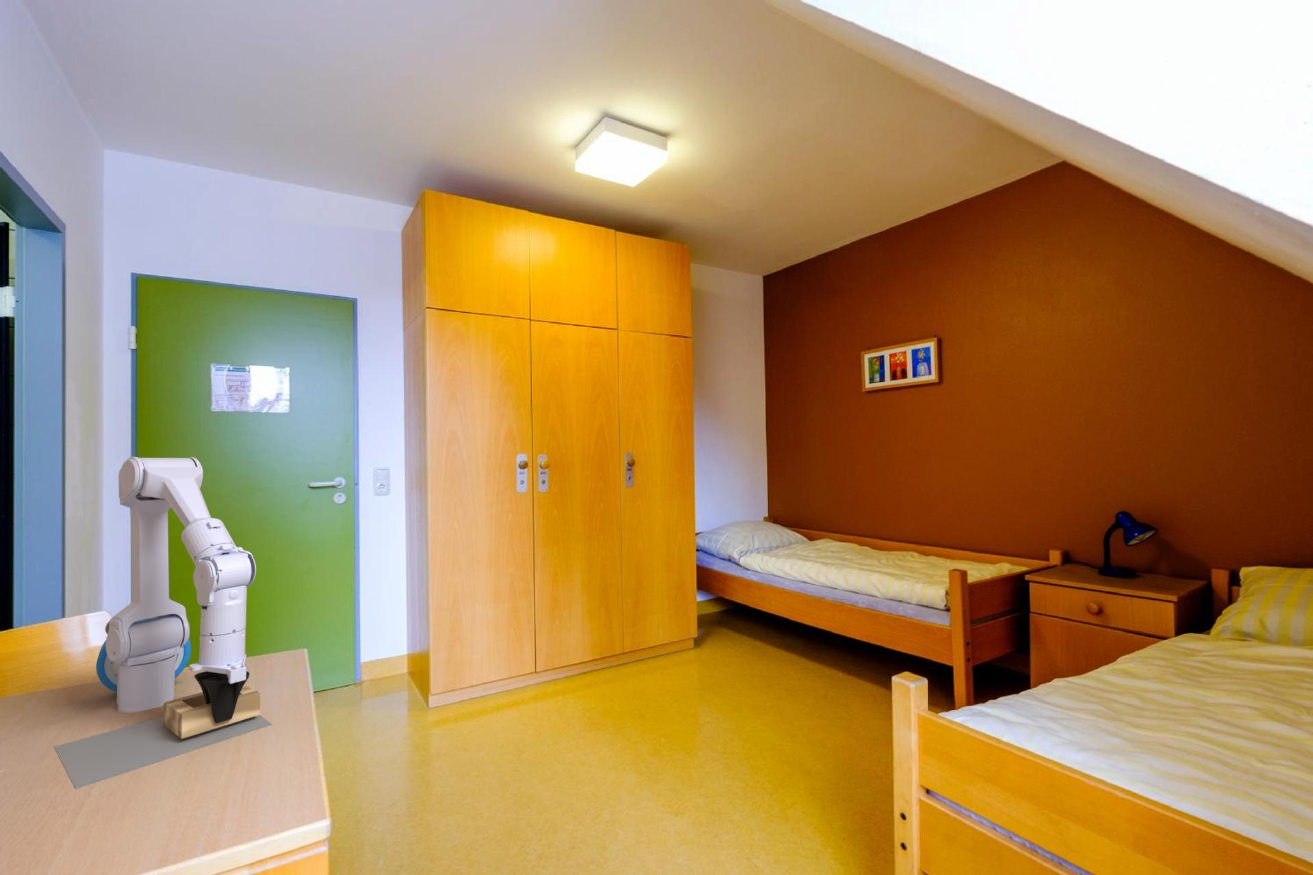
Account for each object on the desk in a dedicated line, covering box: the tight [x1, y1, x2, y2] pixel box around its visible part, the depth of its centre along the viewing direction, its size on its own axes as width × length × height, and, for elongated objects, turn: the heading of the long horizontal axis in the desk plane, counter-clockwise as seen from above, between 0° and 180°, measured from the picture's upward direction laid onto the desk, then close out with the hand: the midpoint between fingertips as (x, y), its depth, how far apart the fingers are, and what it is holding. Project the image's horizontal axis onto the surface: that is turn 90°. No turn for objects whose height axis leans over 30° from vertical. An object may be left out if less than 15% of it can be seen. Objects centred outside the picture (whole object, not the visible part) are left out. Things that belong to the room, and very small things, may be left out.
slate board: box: [53, 714, 274, 790], centre depth 86 cm, size 18×22×6 cm
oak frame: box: [162, 684, 261, 739], centre depth 90 cm, size 10×10×4 cm
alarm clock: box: [95, 615, 192, 693], centre depth 107 cm, size 13×6×15 cm, turn 132°
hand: (220, 718), depth 88 cm, fingers closed on oak frame, 2 cm apart
